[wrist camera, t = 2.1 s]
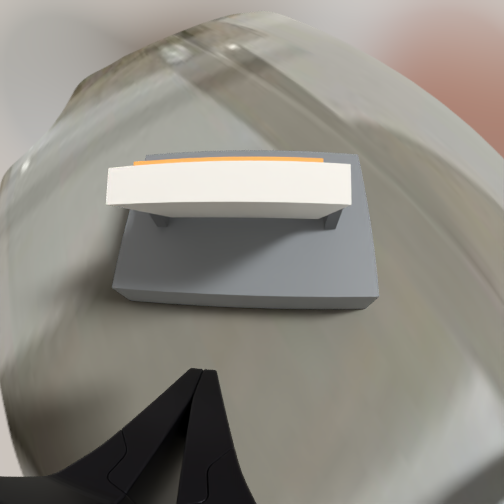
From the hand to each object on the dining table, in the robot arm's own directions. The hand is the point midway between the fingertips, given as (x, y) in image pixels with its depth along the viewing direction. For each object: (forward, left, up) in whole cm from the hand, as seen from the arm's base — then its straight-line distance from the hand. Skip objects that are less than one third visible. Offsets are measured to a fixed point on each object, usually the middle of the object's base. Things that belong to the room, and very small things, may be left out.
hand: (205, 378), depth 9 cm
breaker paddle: (+10, -6, -8) cm, 14 cm away
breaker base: (+10, -6, -12) cm, 16 cm away
